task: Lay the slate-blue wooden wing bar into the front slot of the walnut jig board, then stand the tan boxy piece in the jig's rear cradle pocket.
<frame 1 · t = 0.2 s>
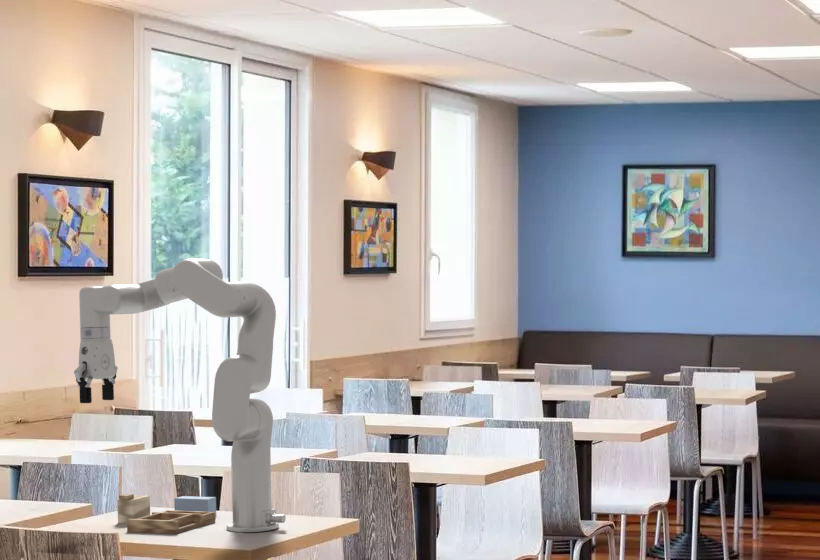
hand: (97, 401, 367), 31 cm above the table, fingers open, 9 cm apart
tan boxy piece: (134, 521, 366), on the table
jig: (172, 526, 354), on the table
wing bar: (195, 517, 370), on the table
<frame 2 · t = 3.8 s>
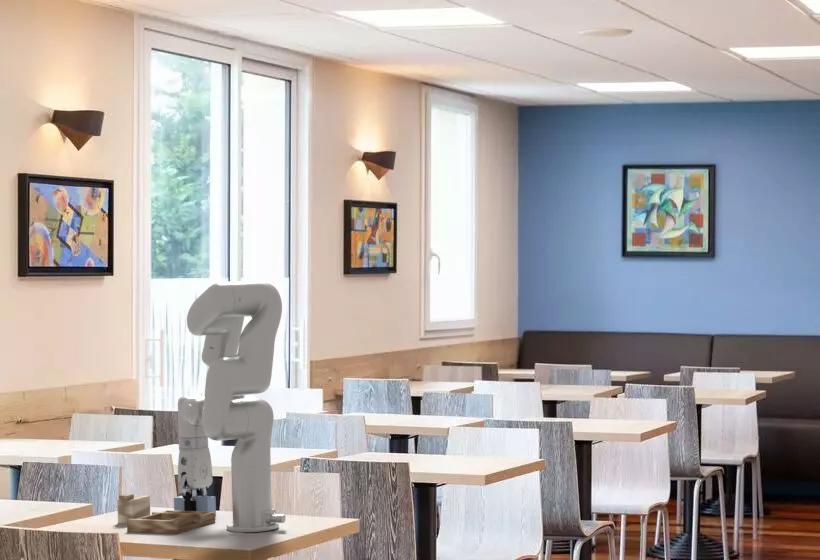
hand: (195, 514, 370), 1 cm above the table, fingers closed on wing bar, 4 cm apart
wing bar: (195, 516, 370), on the table, touching gripper
everything else where it was.
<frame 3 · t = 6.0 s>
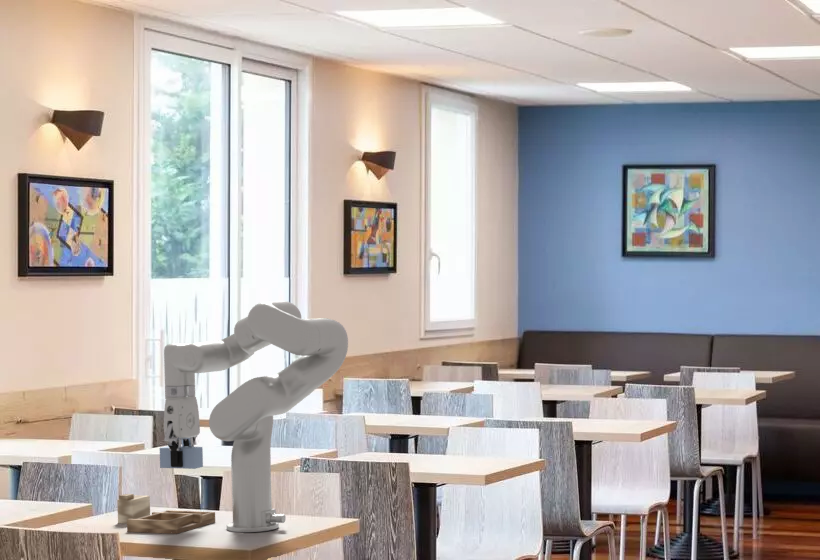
hand: (181, 464, 359), 15 cm above the table, fingers closed on wing bar, 4 cm apart
wing bar: (181, 467, 359), point 14 cm above the table, touching gripper
everything else where it was.
when the fingers open (3 cm above the table, at t = 8.2 s): wing bar drops 2 cm, resting on jig.
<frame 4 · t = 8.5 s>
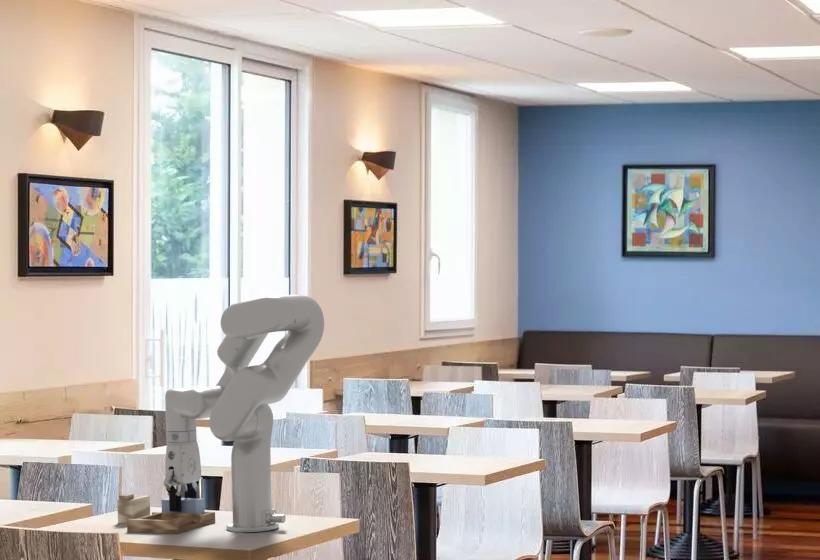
hand: (183, 508, 359), 4 cm above the table, fingers open, 6 cm apart
wing bar: (183, 519, 359), point 1 cm above the table, touching jig
everything else where it was.
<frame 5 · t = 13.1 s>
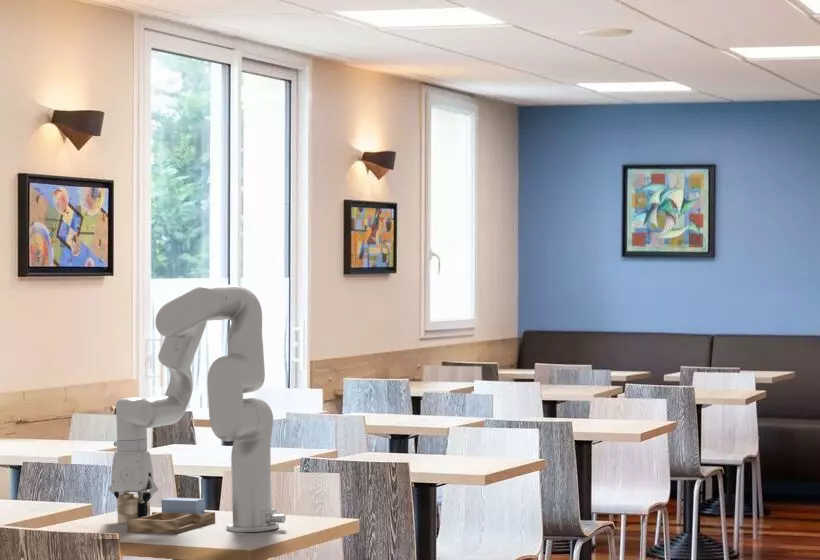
hand: (134, 517, 366), 1 cm above the table, fingers closed on tan boxy piece, 4 cm apart
tan boxy piece: (134, 520, 366), on the table, touching gripper
everything else where it was.
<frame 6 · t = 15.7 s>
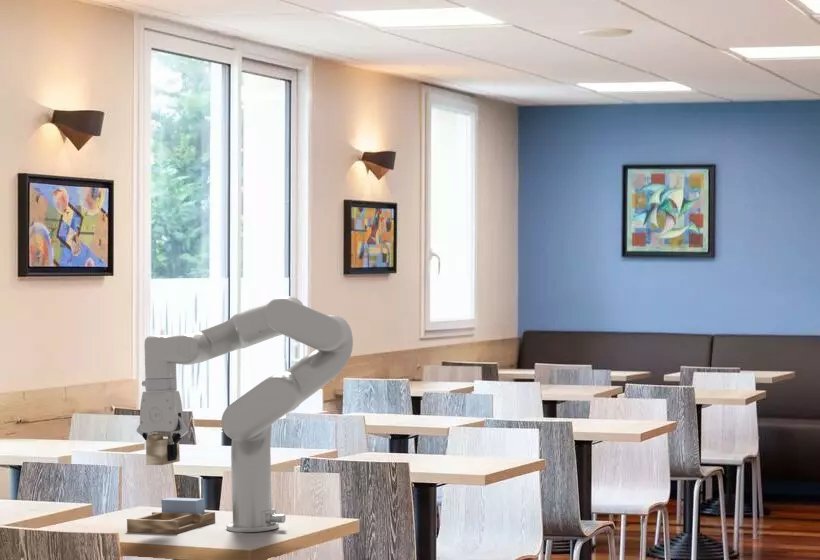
hand: (163, 459, 352), 17 cm above the table, fingers closed on tan boxy piece, 4 cm apart
tan boxy piece: (163, 463, 351), point 16 cm above the table, touching gripper
everything else where it was.
when the fingers open (3 cm above the table, at t = 18.5 s): tan boxy piece drops 1 cm, resting on jig.
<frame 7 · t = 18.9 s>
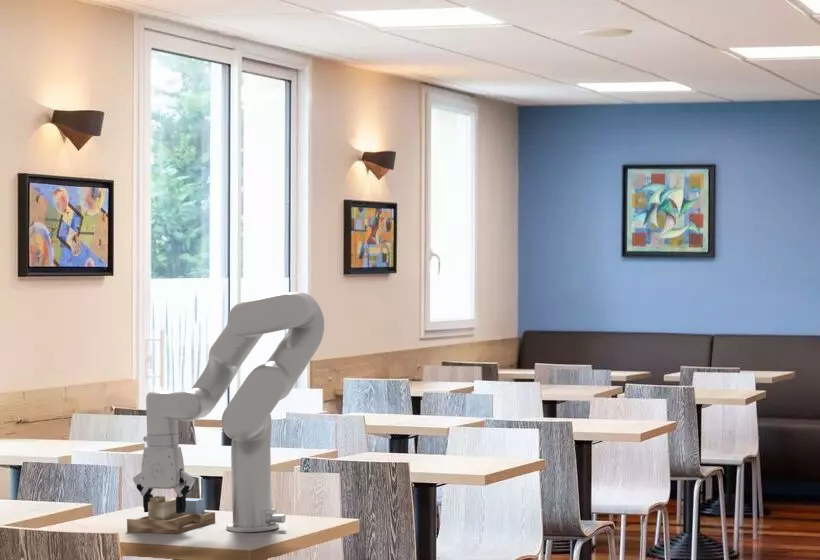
hand: (164, 511, 351), 4 cm above the table, fingers open, 8 cm apart
tan boxy piece: (165, 524, 351), point 1 cm above the table, touching jig
everything else where it was.
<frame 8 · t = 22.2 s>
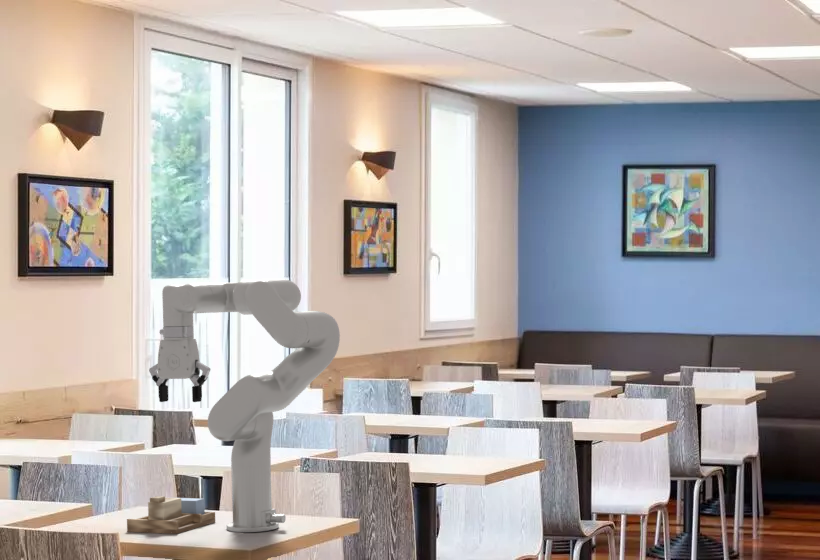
hand: (180, 401, 361), 30 cm above the table, fingers open, 9 cm apart
nothing on the table moved.
at the end: tan boxy piece 0.1 cm from the target spot on the jig, point 1.0 cm above the jig's base; tan boxy piece tilted 0°; wing bar 0.1 cm from the target spot on the jig, point 1.0 cm above the jig's base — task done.
